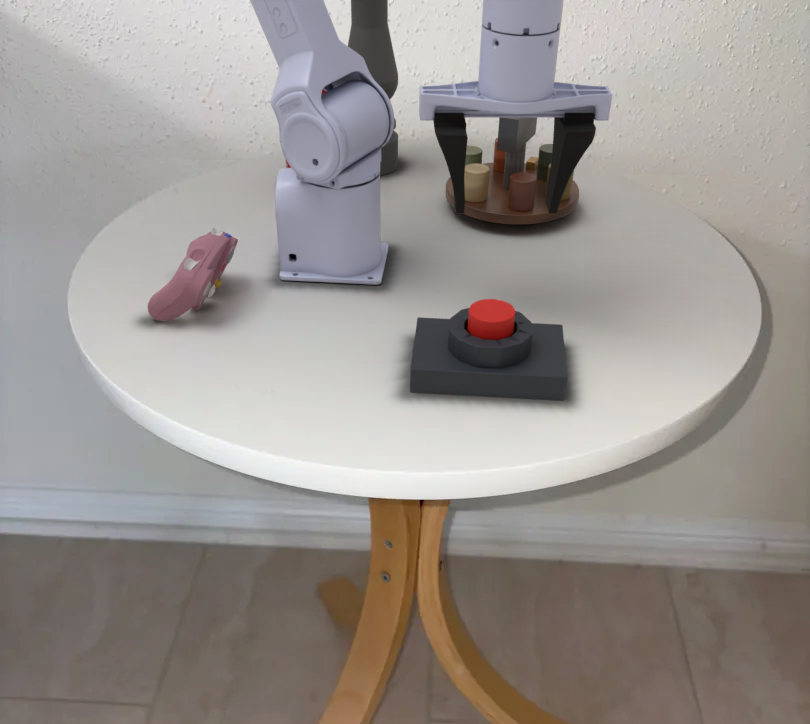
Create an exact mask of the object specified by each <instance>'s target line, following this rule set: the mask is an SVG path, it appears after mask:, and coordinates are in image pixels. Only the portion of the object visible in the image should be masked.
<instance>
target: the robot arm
mask: <svg viewBox="0 0 810 724" xmlns="http://www.w3.org/2000/svg"><path fill="white" fill-rule="evenodd" d="M249 1H250V4H251V6H252V9H253V10H254V13H255V15H256V17H257V19H258V22H259V24H260V27H261V29H262V31H263V33H264V36H265V39H266V40H267V43H268V45H269V48H270V50H271V52H272V55H273V58H274V59H275V61H276V64H277V66H278V72H277V73H278V74H277V76H276V80H275V84H274V88H273V91H272V94H271V99H270V106H271V108H272V110H273V112H274V115H275V117H276V121H277V123H278V132H279V143H280V148H281V151H282V155H283V156H284V159H286V160H285V162H286V161H287V162H288V164H289V165H290V167H291V168H286V167H283V168H282V167H281V168H280V169H279V171H278V173H277V176H276V181H275V190H274V208H275V209H274V210H275V211H274V212H275V225H276V235H277V245H278V246H277V247H278V258H279V268H280V270H279V271H280V272H279V275H278V276H279V279H280V280H281V281H292V282H311V283H312V282H313V283H314V282H315V283H331V284H332V283H334V284H353V285H356V284H357V285H358V284H359V285H377V286H378V285H380V284H382V281H383V277H384V271H385V266H386V262H387V256H388V253H389V243H387V242H382V239H381V238H382V235H381V234H382V231H381V229H382V227H381V225H382V224H381V223H382V222H381V213H382V212H381V175H380V162H381V148H382V147H383V146H385V145H386V143H387V142H388V141H389V139H390V137H391V135H392V133H393V129H394V118H395V113H394V112H395V111H394V109H393V104H392V101H391V99H390V100H389V98H388V96H387V94H386V93H385V91H384V90H383V89H382V88H381V87H380V86H379V85H378V84H377V83H376V81H375V80H374V79H373V77H372V76H371V74H370V72H369V70H368V68H367V65H366V63H365V60H364V58H363V57H362V56H361V55H359V54H358V53H357V52H355V51H354V50H352V49H351V48H349V47H348V44H345V43H344V42H342V41H341V40H340V38H339V36H338V34H337V31H336V28H335V25H334V23H333V21H332V19H331V16H330V13H329V11H328V8H327V5H326V3H325V0H249ZM563 9H564V0H482V14H481V15H482V16H481V29H480V30H481V31H480V45H479V46H480V47H479V63H478V64H479V65H478V80H474V81H465V82H458V83H457V82H456V83H449V84H439V85H420V86H419V100H418V101H419V102H418V105H419V106H418V113H419V115H418V116H419V120H420V121H422V122H423V121H425V122H426V121H428V122H429V121H430V122H431V121H432V122H433V128H434V134H435V138H436V140H437V143H438V145H439V147H440V150H441V152H442V155H443V157H444V160H445V164H446V166H447V170H448V172H449V176H450V177H451V180H452V185H453V191H454V207H455V208H454V207H453V208H454V214H458V215H461V214H464V208H465V185H464V174H465V161H466V150H467V146H468V141H469V140H468V139H469V138H468V132H467V121H466V118H499V117H537V118H553V135H552V136H553V137H552V144H553V150H552V161H551V167H550V173H549V179H548V184H547V191H546V206H547V209H548V212H549V213H557V212H558V208H559V204H560V201H561V198H562V196H563V193H564V190H565V188H566V186H567V183H568V181H569V179H570V177H571V175H572V173H573V171H574V172H575V169H576V168H577V166H578V164H579V162H580V161H581V159H582V158H583V156H584V154H585V153H586V151H587V150H588V149H589V148H590V146H591V145H592V144H593V141H594V139H595V136H596V132H597V127H596V124H595V121H597V122H598V121H600V122H601V121H602V122H603V121H604V122H605V121H606V122H607V121H609V119H610V113H611V107H612V100H613V93H612V92H611V90H610V88H609V86H607V85H589V84H588V85H586V84H579V83H578V84H577V83H569V82H560V81H559V82H558V81H555V78H556V71H557V70H556V69H557V61H558V52H559V46H560V44H559V42H560V34H561V26H562V20H563V19H562V18H563ZM322 90H325V91H326V93H324V94H322ZM321 94H322V95H321ZM390 101H391V102H390ZM394 130H395V129H394ZM464 215H465V214H464Z"/></svg>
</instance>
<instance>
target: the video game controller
mask: <svg viewBox="0 0 810 724" xmlns="http://www.w3.org/2000/svg"><path fill="white" fill-rule="evenodd" d="M238 241H239V240H238V238H236V237H235V236H232V235H231V234H229V233H228V232H225V231H218V230H216V229H215V227H213V228H212V229H211V231H208V232H207V233H206V234H203V235H202V236H198V237H197V238H195V239H194V240H192V241H191V242H190V243H189V245H188V248H187V251H186V255H185V257H184V259H183V260H182V261H181V263H180V264H179V266H178V268H177V270H176V272H175V274H174V276H173V277H171V279H170V280H169V281H168V283H166V285H164V286H163V287H162V288H160V289H159V290H158V291H156V292H155V293H154V294H153V295H152V296H151V297H150V298H149V300H148V303H147V312H148V314H149V316H150V317H151V318H152V319H154V320H155V321H160V322H166V321H173V320H175V319H177V318H180V317H181V316H183V315H184V314H185V313H187V312H188V311H189V310H191V309H193V310H194V311H196V312H199V311H200V309H201V307H202V306H203V304H204V302H205V301H206V298H208V299H209V298H211V297H213V296H214V294H215V291H216V289H219V288H220V287H221V285H222V280H221V278H222V275H223V273H224V271H225V270H226V268H227V266H228V265H229V264H230V262H231V260H232V259H233V257H234V254H235V250H236V248H237V246H238Z"/></svg>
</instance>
